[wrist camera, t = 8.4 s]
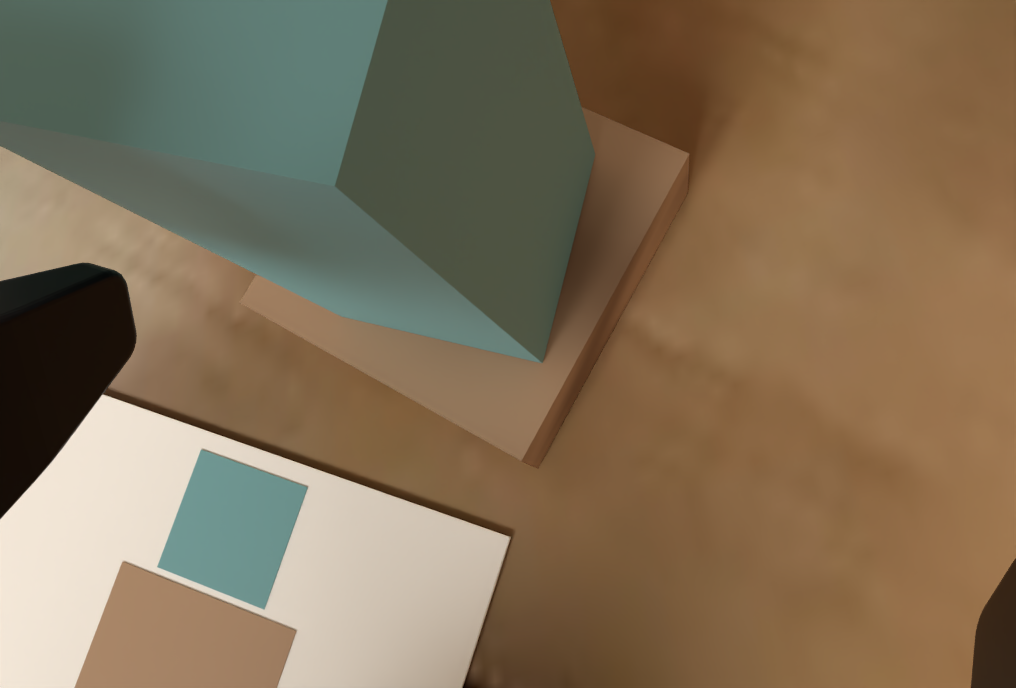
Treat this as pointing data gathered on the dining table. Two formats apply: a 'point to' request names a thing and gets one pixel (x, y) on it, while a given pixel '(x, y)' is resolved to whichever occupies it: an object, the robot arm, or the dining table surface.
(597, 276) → the walnut base brick
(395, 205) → the teal brick
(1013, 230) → the dining table surface
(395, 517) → the page
